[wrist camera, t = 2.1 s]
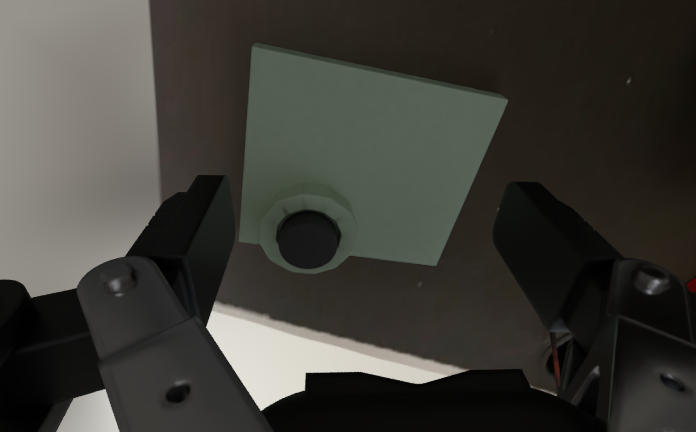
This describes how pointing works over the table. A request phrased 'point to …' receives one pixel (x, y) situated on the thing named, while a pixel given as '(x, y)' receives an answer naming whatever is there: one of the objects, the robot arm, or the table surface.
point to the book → (692, 285)
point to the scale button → (308, 240)
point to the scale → (359, 154)
